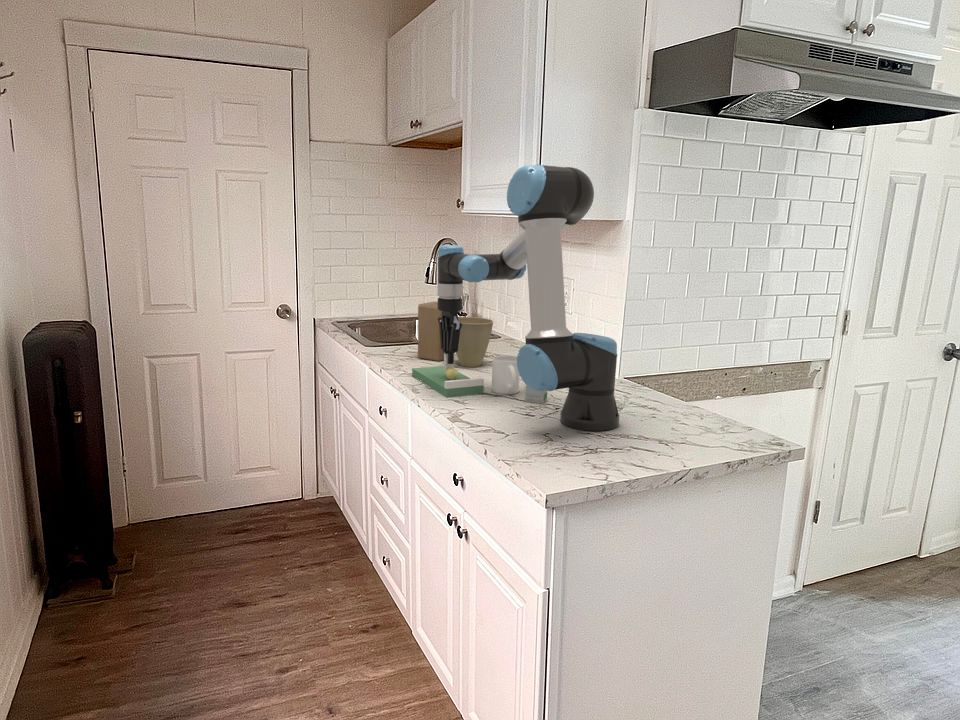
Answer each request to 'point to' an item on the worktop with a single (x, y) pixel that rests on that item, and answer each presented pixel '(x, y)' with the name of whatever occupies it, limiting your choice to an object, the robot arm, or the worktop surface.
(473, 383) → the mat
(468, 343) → the plant pot
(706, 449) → the worktop surface
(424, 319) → the wooden block
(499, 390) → the mug
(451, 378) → the ball
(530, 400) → the small box
